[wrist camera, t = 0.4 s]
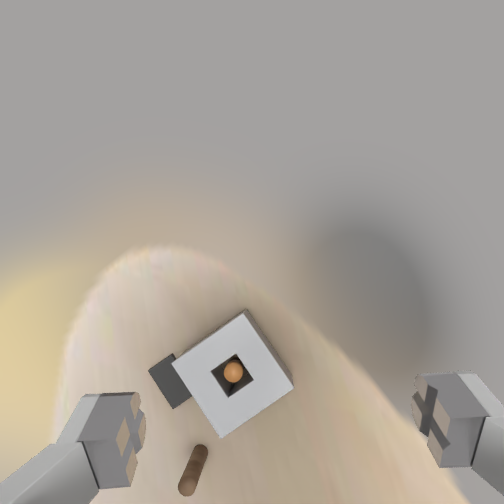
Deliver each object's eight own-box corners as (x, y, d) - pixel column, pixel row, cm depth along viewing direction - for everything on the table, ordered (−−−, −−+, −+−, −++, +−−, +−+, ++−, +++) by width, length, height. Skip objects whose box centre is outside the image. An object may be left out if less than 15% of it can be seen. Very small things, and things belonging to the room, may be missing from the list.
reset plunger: (247, 371, 59) (245, 375, 56) (232, 381, 59) (230, 386, 56) (236, 356, 59) (235, 359, 56) (222, 366, 59) (220, 370, 57)
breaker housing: (291, 374, 61) (294, 388, 54) (226, 420, 61) (220, 439, 54) (246, 308, 62) (243, 313, 55) (182, 353, 63) (171, 363, 56)
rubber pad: (197, 391, 62) (196, 393, 61) (174, 407, 62) (173, 409, 61) (172, 353, 63) (171, 354, 62) (150, 369, 63) (148, 370, 62)
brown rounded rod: (210, 454, 61) (198, 489, 51) (198, 462, 61) (184, 499, 51) (202, 441, 61) (189, 474, 51) (190, 450, 61) (174, 484, 52)
